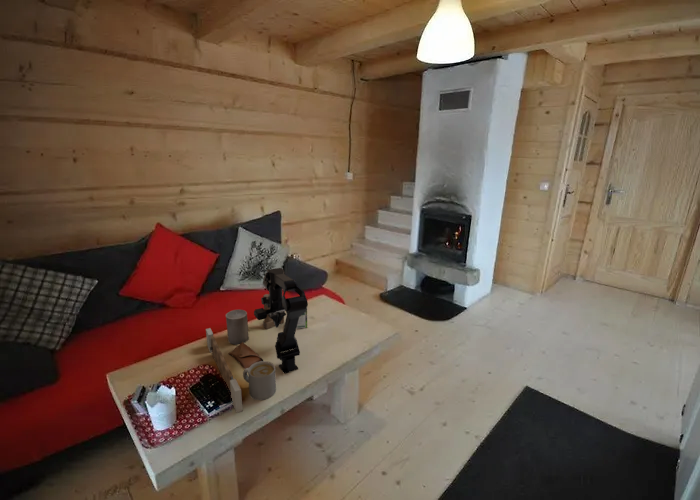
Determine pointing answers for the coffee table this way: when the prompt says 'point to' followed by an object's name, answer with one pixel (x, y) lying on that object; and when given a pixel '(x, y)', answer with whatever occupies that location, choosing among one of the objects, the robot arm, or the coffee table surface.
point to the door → (221, 362)
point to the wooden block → (268, 321)
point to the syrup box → (302, 321)
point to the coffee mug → (261, 380)
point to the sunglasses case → (245, 355)
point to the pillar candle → (237, 326)
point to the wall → (233, 383)
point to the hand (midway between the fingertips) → (276, 327)
